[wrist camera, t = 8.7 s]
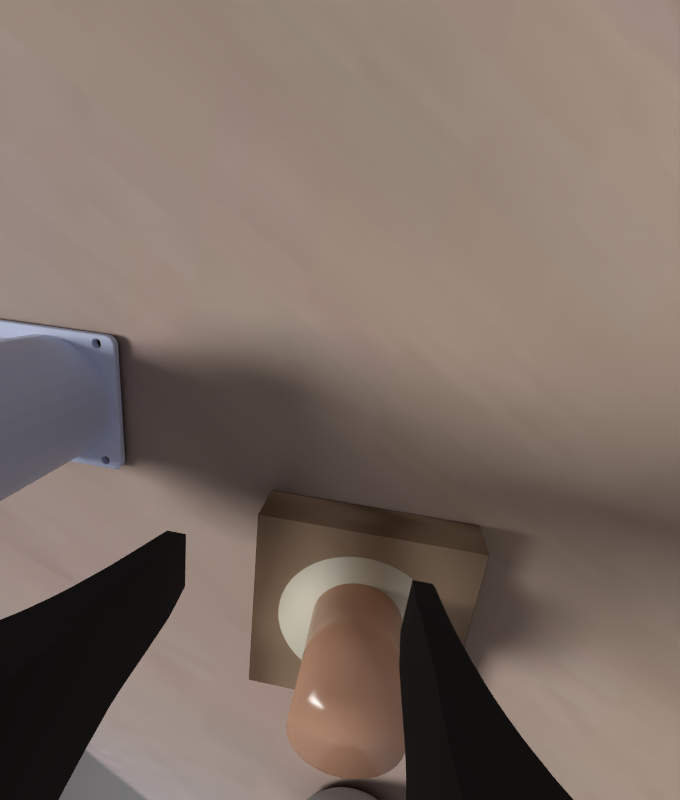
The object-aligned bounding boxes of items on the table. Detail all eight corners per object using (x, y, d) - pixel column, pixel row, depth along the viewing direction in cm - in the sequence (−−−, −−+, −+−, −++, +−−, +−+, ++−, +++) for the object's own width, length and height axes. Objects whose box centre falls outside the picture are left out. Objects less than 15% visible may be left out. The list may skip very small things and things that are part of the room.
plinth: (261, 644, 27) (248, 680, 25) (271, 490, 24) (257, 514, 21) (438, 681, 26) (443, 721, 24) (479, 525, 23) (489, 555, 20)
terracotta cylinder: (310, 646, 23) (285, 766, 18) (315, 577, 22) (288, 684, 16) (396, 660, 23) (398, 788, 17) (407, 590, 21) (413, 705, 16)
